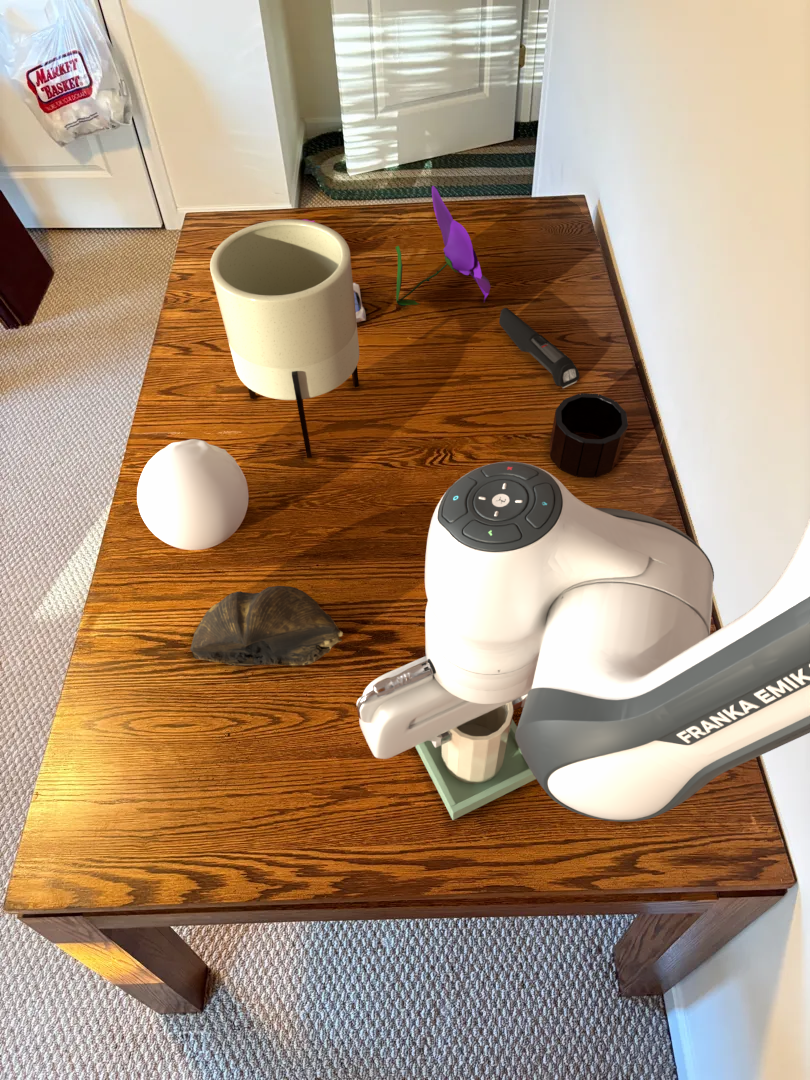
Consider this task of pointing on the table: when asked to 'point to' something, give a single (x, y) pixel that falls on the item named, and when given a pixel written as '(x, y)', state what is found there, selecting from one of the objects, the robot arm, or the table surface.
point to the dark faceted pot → (594, 418)
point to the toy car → (358, 304)
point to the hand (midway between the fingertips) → (476, 719)
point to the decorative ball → (192, 495)
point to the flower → (449, 251)
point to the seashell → (265, 629)
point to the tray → (473, 796)
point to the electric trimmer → (539, 349)
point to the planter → (288, 310)
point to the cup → (478, 746)
